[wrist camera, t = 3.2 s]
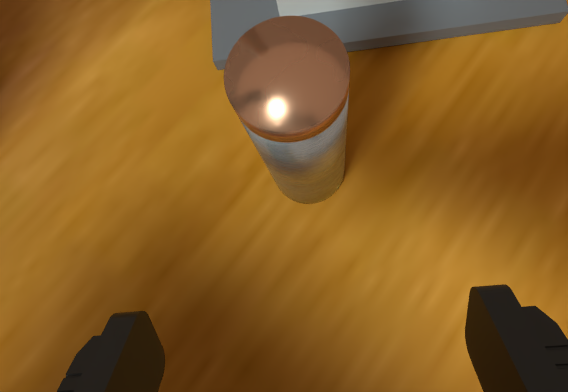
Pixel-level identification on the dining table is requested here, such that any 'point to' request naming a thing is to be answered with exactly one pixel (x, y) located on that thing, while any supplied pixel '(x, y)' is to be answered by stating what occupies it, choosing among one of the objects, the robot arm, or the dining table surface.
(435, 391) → the dining table surface
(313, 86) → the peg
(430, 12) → the dock
